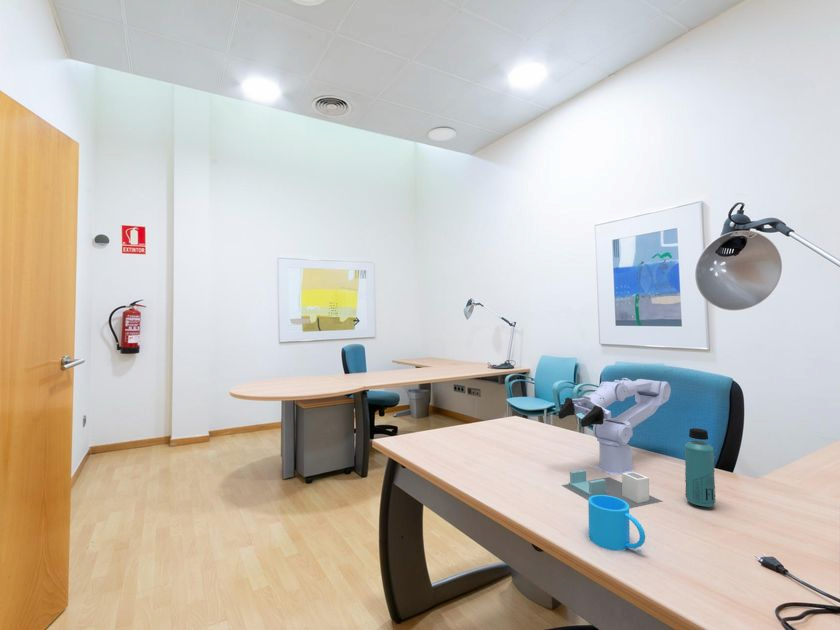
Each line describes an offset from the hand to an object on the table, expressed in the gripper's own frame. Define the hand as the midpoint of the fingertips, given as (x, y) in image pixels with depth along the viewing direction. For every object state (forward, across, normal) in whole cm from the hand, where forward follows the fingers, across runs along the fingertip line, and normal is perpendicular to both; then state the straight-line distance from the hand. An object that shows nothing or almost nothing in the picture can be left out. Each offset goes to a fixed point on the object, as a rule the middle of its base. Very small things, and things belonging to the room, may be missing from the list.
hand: (570, 419), depth 119 cm
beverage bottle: (-9, +30, +19) cm, 37 cm away
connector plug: (0, +18, +18) cm, 25 cm away
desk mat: (+2, +12, +18) cm, 22 cm away
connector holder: (+5, +8, +17) cm, 19 cm away
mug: (+24, +27, +10) cm, 37 cm away
